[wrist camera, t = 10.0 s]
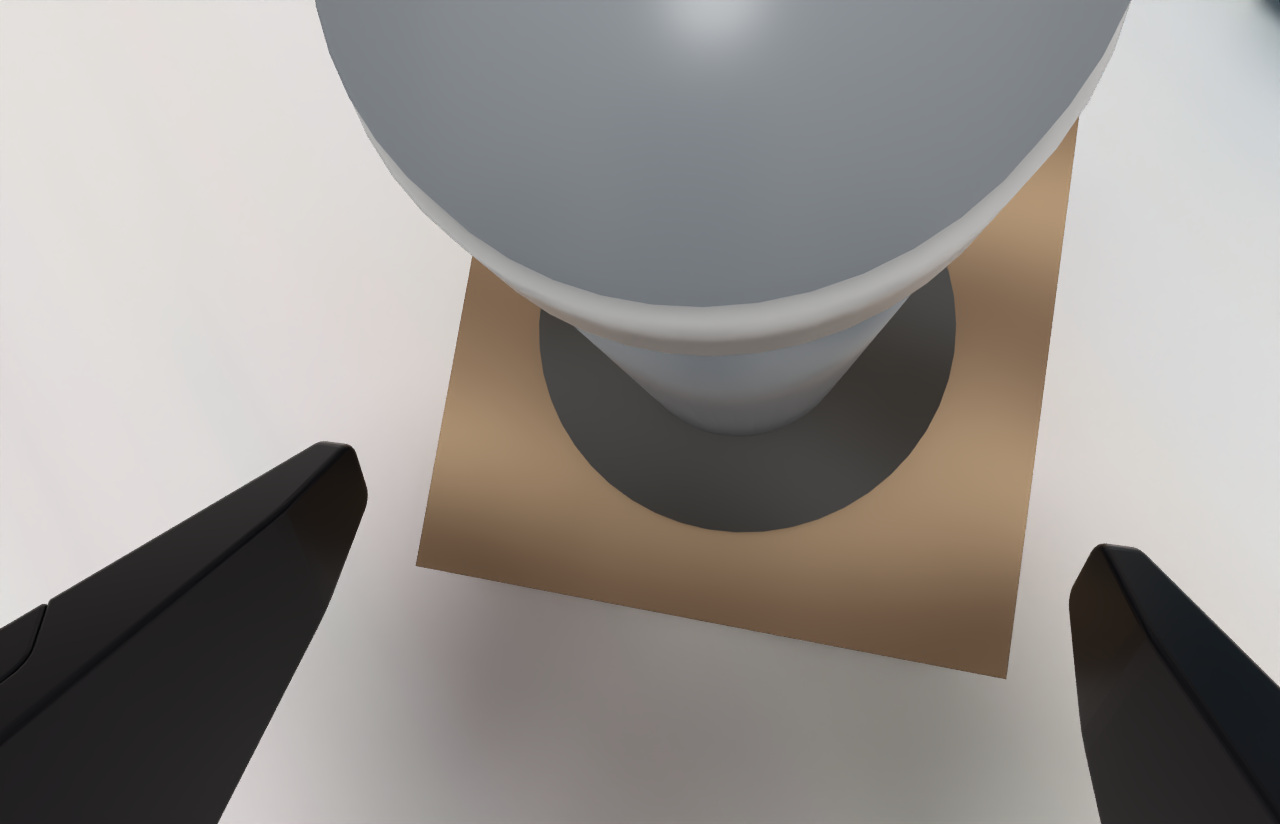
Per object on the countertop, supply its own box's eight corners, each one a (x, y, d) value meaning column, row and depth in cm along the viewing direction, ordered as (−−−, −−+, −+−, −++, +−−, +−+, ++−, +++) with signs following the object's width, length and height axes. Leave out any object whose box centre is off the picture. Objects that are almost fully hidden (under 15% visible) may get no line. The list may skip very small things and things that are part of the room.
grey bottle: (760, 488, 17) (786, 498, 4) (580, 348, 18) (139, -6, 5) (905, 302, 17) (1390, -271, 4) (718, 170, 18) (633, -653, 5)
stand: (956, 642, 20) (1014, 684, 16) (474, 551, 22) (406, 568, 18) (1021, 152, 21) (1094, 65, 17) (554, 107, 23) (507, 16, 19)
